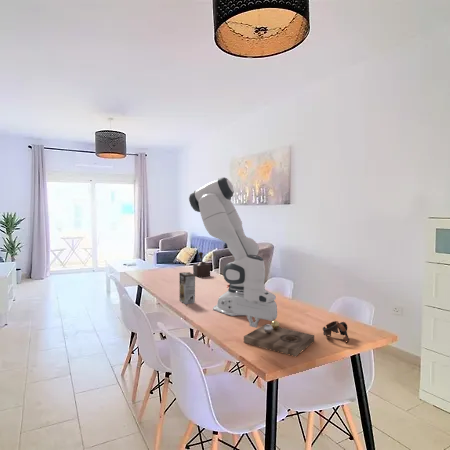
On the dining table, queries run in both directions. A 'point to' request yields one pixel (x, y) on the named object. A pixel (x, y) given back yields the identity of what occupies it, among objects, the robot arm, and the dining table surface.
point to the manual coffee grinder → (201, 268)
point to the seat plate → (280, 340)
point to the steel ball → (268, 328)
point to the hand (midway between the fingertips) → (253, 326)
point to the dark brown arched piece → (336, 329)
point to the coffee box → (187, 287)
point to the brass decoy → (275, 324)
